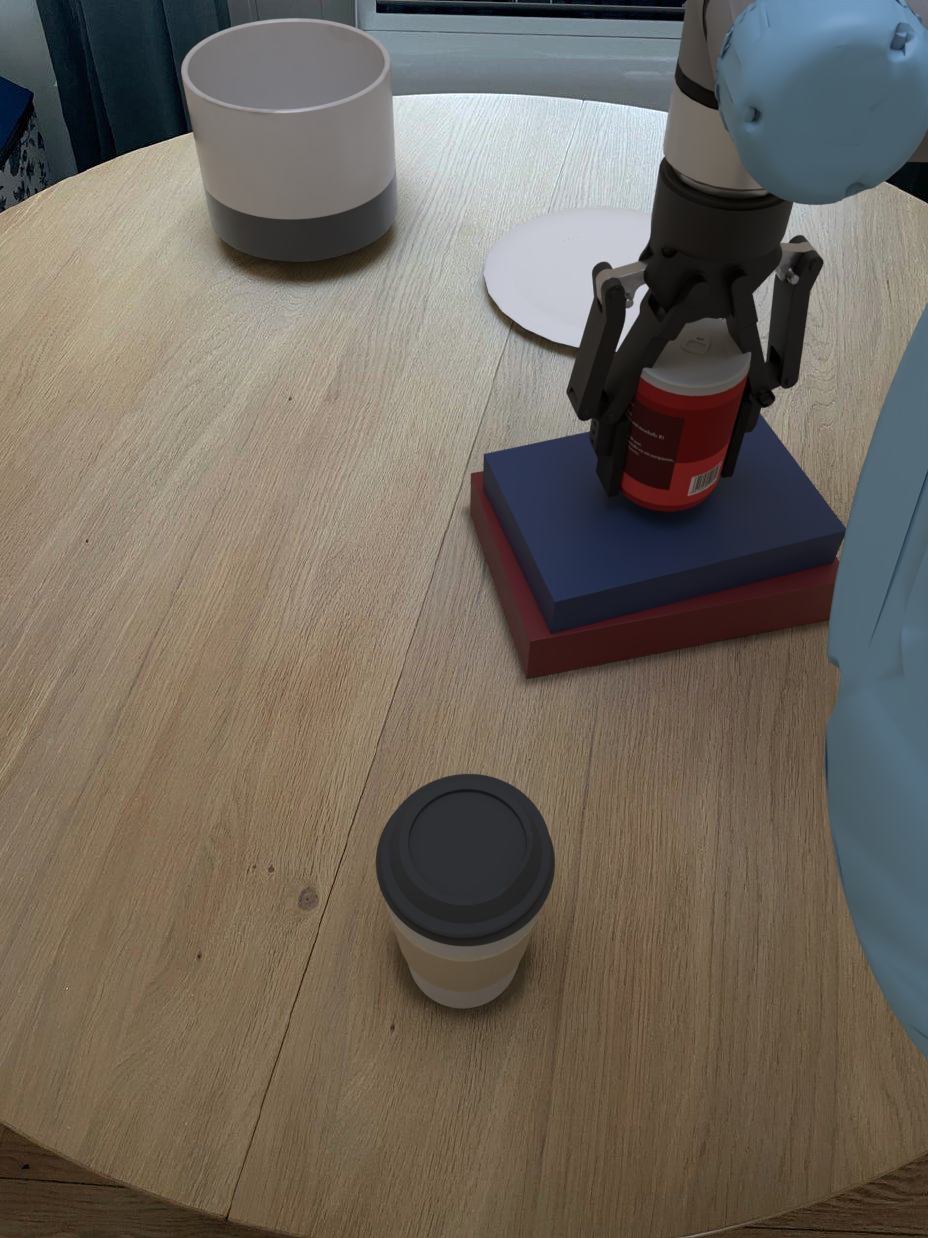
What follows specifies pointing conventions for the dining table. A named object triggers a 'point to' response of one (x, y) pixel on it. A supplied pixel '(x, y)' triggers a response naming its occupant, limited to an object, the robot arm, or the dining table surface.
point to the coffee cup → (465, 884)
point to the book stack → (649, 554)
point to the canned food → (684, 418)
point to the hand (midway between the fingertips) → (664, 473)
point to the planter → (294, 136)
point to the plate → (563, 268)
